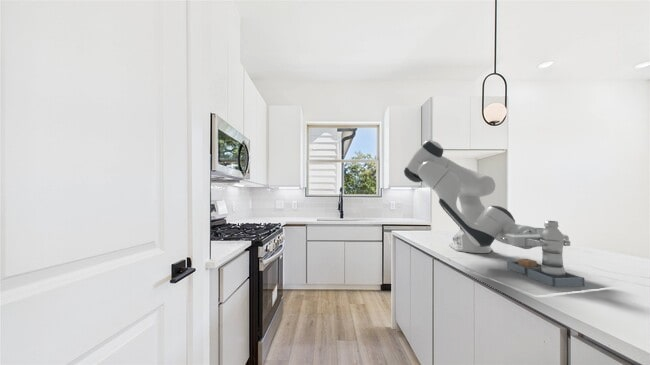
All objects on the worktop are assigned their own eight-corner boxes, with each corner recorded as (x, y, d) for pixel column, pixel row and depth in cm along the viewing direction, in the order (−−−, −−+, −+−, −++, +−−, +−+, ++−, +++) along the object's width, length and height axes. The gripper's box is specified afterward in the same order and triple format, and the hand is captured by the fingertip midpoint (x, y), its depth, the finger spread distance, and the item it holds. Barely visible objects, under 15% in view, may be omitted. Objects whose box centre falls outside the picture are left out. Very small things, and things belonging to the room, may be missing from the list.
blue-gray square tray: (507, 269, 110) (507, 261, 110) (529, 268, 110) (529, 260, 110) (525, 276, 101) (525, 267, 101) (549, 275, 101) (549, 267, 101)
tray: (526, 277, 99) (526, 268, 99) (554, 276, 100) (553, 268, 100) (553, 288, 88) (553, 278, 88) (584, 287, 88) (584, 277, 89)
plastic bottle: (556, 277, 97) (554, 220, 98) (571, 283, 90) (568, 222, 91) (536, 276, 98) (534, 220, 99) (549, 283, 91) (547, 222, 92)
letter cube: (518, 269, 107) (518, 259, 107) (527, 268, 108) (526, 258, 108) (528, 272, 103) (527, 261, 103) (536, 271, 104) (536, 261, 104)
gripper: (497, 229, 107) (524, 234, 93) (548, 228, 108) (583, 233, 94) (497, 245, 107) (525, 253, 93) (548, 244, 108) (583, 252, 94)
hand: (554, 243), depth 93 cm, fingers open, 8 cm apart
